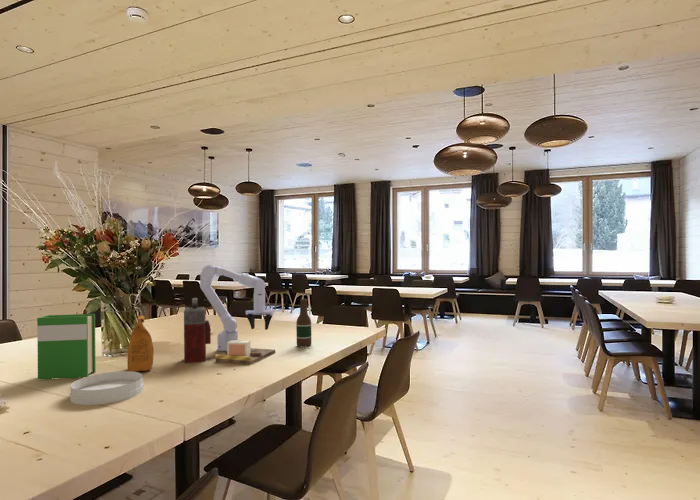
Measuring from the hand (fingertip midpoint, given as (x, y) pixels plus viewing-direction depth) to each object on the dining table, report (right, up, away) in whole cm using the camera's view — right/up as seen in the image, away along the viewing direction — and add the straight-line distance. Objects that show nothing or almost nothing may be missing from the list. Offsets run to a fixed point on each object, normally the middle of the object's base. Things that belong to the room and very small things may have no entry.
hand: (259, 329), depth 215 cm
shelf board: (-2, -9, -19) cm, 22 cm away
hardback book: (-67, -10, -47) cm, 82 cm away
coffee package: (-42, -10, -38) cm, 57 cm away
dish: (-38, -10, -69) cm, 79 cm away
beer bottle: (+22, -9, +3) cm, 24 cm away
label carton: (-4, -8, -25) cm, 27 cm away
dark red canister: (-23, -10, -23) cm, 34 cm away
